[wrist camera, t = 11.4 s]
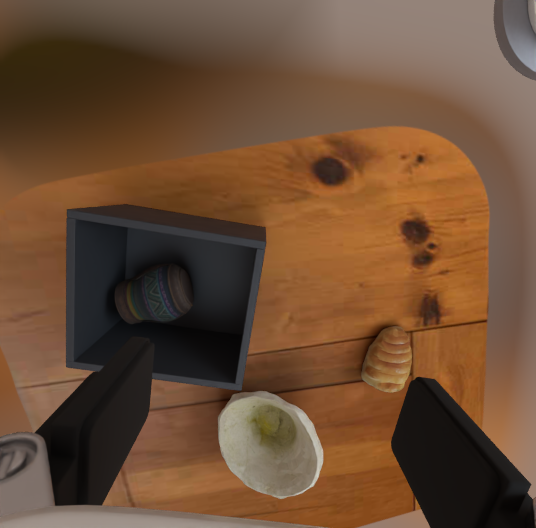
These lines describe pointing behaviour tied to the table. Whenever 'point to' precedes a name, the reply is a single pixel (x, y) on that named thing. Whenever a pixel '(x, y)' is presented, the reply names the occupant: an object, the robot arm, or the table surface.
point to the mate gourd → (155, 295)
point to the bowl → (269, 444)
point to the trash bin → (154, 253)
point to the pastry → (388, 360)
